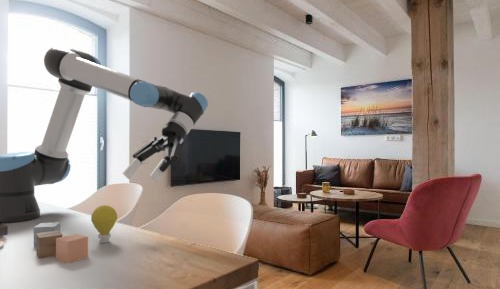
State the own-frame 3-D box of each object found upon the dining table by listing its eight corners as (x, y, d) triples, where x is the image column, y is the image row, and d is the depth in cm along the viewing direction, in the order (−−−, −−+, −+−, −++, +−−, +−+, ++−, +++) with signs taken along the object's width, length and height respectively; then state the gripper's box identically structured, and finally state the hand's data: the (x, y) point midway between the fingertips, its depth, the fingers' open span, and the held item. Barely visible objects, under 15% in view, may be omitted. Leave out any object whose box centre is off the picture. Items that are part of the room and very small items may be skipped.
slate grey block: (40, 240, 98) (40, 223, 98) (60, 239, 99) (60, 222, 99) (33, 246, 93) (33, 227, 93) (54, 245, 94) (54, 226, 94)
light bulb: (85, 243, 95) (85, 206, 95) (103, 237, 101) (103, 202, 101) (105, 246, 93) (105, 208, 92) (122, 239, 99) (122, 204, 99)
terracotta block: (55, 259, 83) (55, 238, 83) (76, 253, 87) (76, 233, 87) (67, 263, 80) (67, 241, 80) (88, 257, 84) (88, 236, 84)
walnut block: (36, 253, 87) (36, 233, 87) (59, 249, 90) (59, 230, 90) (38, 258, 83) (38, 237, 83) (62, 254, 86) (62, 234, 86)
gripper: (209, 136, 111) (173, 188, 99) (160, 137, 127) (123, 182, 115) (197, 118, 107) (157, 171, 95) (147, 121, 122) (108, 167, 111)
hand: (138, 177), depth 105 cm, fingers open, 13 cm apart
